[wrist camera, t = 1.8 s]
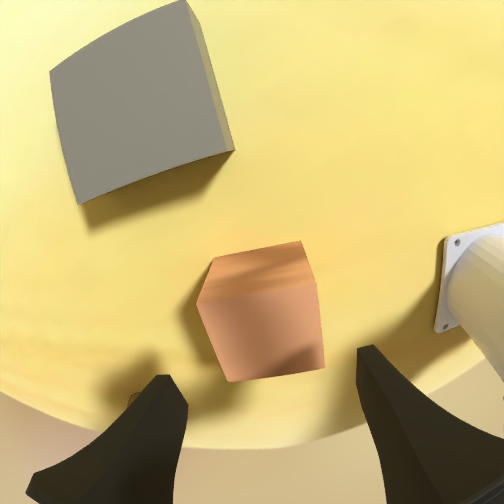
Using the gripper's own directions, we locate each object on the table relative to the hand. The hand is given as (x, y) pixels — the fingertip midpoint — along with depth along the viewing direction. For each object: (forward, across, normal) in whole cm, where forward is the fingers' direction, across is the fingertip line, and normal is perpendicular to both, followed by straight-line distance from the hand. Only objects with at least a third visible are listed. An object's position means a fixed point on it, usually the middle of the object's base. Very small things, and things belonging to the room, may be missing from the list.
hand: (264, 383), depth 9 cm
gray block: (+8, +4, -12) cm, 15 cm away
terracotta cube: (+8, 0, 0) cm, 8 cm away
